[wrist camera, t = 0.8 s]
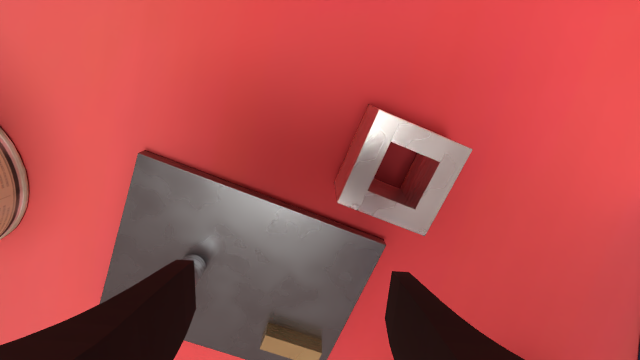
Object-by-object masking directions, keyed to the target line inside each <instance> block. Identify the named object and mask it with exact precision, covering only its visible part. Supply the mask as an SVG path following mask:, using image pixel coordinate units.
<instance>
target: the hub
mask: <svg viewBox="0 0 640 360" xmlns="http://www.w3.org/2000/svg"><path fill="white" fill-rule="evenodd" d="M390 142H393V143H395V144H398V145H400V146H402V147H405V148H407V149H410V150H412V151H414V152H417V155H416V157H415V159H414V161H413V163H412V165H411V167H410V169H409V171H408V173H407V175H406V177H405V179H404V181H403V183H402V185H401V187H400V188H397V187H395V186H392V185H389V184H387V183H384V182H382V181H379V180H377V179H374V176H375V174H376V172H377V170H378V168H379V166H380V163H381V161H382V159H383V157H384V155H385V153H386V151H387V149H388V147H389V145H390ZM472 150H473V149H471V148H468V147H466V146H464V145H462V144H460V143H458V142H456V141H453V140H451V139H449V138H447V137H445V136H442V135H440V134H438V133H435V132H433V131H431V130H428V129H426V128H423V127H421V126H419V125H416V124H414V123H412V122H409V121H407V120H405V119H402V118H400V117H398V116H395V115H393V114H391V113H388V112H386V111H384V110H381V109H379V108H376V107H374V106H372V105H369V104H368V107H367V109H366V111H365V113H364V116H363V118H362V120H361V122H360V125H359V127H358V129H357V131H356V134H355V136H354V138H353V141H352V143H351V145H350V147H349V150H348V152H347V154H346V156H345V159H344V161H343V163H342V165H341V168H340V170H339V172H338V175H337V177H336V179H335V181H334V186H335V192H336V198H337V203H339V204H342V205H344V206H347V207H350V208H352V209H355V210H358V211H360V212H363V213H365V214H368V215H371V216H373V217H376V218H379V219H381V220H384V221H386V222H389V223H392V224H394V225H397V226H400V227H402V228H405V229H407V230H410V231H413V232H415V233H418V234H420V235H423V236H425V235H426V233H427V231H428V230H429V228H430V226H431V224H432V222H433V220H434V219H435V217H436V215H437V213H438V211H439V210H440V208H441V206H442V204H443V202H444V200H445V199H446V197H447V195H448V193H449V191H450V190H451V188H452V186H453V184H454V182H455V181H456V179H457V177H458V175H459V173H460V171H461V170H462V168H463V166H464V164H465V162H466V161H467V159H468V157H469V155H470V153H471V151H472Z"/></svg>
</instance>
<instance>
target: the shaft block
mask: <svg viewBox="0 0 640 360" xmlns="http://www.w3.org/2000/svg"><path fill="white" fill-rule="evenodd" d="M385 246H386V244H385V241H384V239H381V238H378V237H376V236H373V235H370V234H368V233H365V232H362V231H360V230H357V229H354V228H352V227H349V226H346V225H344V224H341V223H338V222H336V221H333V220H330V219H328V218H325V217H322V216H320V215H317V214H314V213H311V212H309V211H306V210H303V209H301V208H298V207H295V206H293V205H290V204H287V203H285V202H282V201H279V200H277V199H274V198H271V197H269V196H266V195H263V194H261V193H258V192H255V191H253V190H250V189H247V188H245V187H242V186H239V185H237V184H234V183H231V182H229V181H226V180H223V179H220V178H218V177H215V176H212V175H210V174H207V173H204V172H202V171H199V170H196V169H194V168H191V167H188V166H186V165H183V164H180V163H178V162H175V161H172V160H170V159H167V158H164V157H162V156H159V155H156V154H154V153H151V152H148V151H146V150H145V151H142V152H140V153H138V156H137V160H136V164H135V168H134V172H133V176H132V180H131V184H130V187H129V191H128V195H127V199H126V203H125V207H124V211H123V215H122V219H121V223H120V227H119V231H118V234H117V238H116V242H115V246H114V250H113V254H112V258H111V262H110V266H109V270H108V274H107V277H106V281H105V285H104V289H103V293H102V297H101V301H100V304H101V303H103V302H105V301H107V300H108V299H110V298H112V297H114V296H116V295H117V294H119V293H121V292H123V291H125V290H126V289H128V288H130V287H132V286H133V285H135V284H137V283H138V282H140V281H142V280H143V279H145V278H147V277H148V276H150V275H151V274H153V273H155V272H156V271H158V270H160V269H161V268H163V267H164V266H166V265H168V264H169V263H171V262H173V261H175V260H177V259H178V260H194V271H195V293H196V310H195V313H194V316H193V319H192V322H191V324H190V327H189V329H188V332H187V334H186V336H185V338H184V340H185V341H188V342H191V343H194V344H198V345H201V346H204V347H207V348H211V349H214V350H217V351H220V352H224V353H227V354H230V355H233V356H237V357H240V358H243V359H246V360H327V358H328V356H329V354H330V353H331V351H332V349H333V347H334V345H335V343H336V341H337V339H338V337H339V335H340V333H341V331H342V329H343V327H344V326H345V324H346V322H347V320H348V318H349V316H350V314H351V312H352V310H353V308H354V306H355V304H356V302H357V300H358V299H359V297H360V295H361V293H362V291H363V289H364V287H365V285H366V283H367V281H368V279H369V277H370V275H371V273H372V272H373V270H374V268H375V266H376V264H377V262H378V260H379V258H380V256H381V254H382V252H383V250H384V248H385Z"/></svg>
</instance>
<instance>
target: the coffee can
mask: <svg viewBox="0 0 640 360" xmlns="http://www.w3.org/2000/svg"><path fill="white" fill-rule="evenodd" d="M28 196H29V189H28V180H27V174H26V170H25V167H24V165H23V163H22V161H21V158H20V155H19V154H18V152H17V150H16V148H15V146H14V144H13V143H12V141H11V140H10V139H9V138H8V136H7V135H6V134H5V132H4V131H3V130H2V129H1V128H0V239H2V238H3V237H5V236H6V235H8V234H9V233H10V232H12V231H13V230H14V229H15V228H16V227H17V226H18V224H19V223H20V221H21V219H22V217H23V215H24V213H25V211H26V208H27V203H28Z"/></svg>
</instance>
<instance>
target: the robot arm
mask: <svg viewBox="0 0 640 360" xmlns="http://www.w3.org/2000/svg"><path fill="white" fill-rule="evenodd" d="M195 310H196V293H195V271H194V260H178V259H177V260H175V261H173V262H171V263H169V264H168V265H166V266H164V267H163V268H161V269H160V270H158V271H156V272H155V273H153V274H151V275H150V276H148V277H147V278H145V279H143V280H142V281H140V282H138V283H137V284H135V285H133V286H132V287H130V288H128V289H126V290H125V291H123V292H121V293H119V294H117V295H116V296H114V297H112V298H110V299H108V300H107V301H105V302H103V303H101V304H99V305H97V306H95V307H93V308H91V309H89V310H87V311H85V312H83V313H81V314H79V315H77V316H74V317H72V318H70V319H68V320H66V321H63V322H61V323H59V324H56V325H54V326H51V327H48V328H46V329H43V330H41V331H38V332H36V333H33V334H31V335H28V336H26V337H23V338H20V339H18V340H15V341H12V342H9V343H6V344H3V345H0V360H173V359H174V358H175V356H176V354H177V352H178V350H179V348H180V346H181V344H182V342H183V340H184V338H185V336H186V334H187V332H188V329H189V327H190V324H191V322H192V319H193V316H194V313H195ZM385 321H386V327H387V333H388V338H389V344H390V347H391V351H392V354H393V357H394V360H524V359H523V358H521V357H519V356H517V355H516V354H514V353H512V352H510V351H509V350H507V349H505V348H504V347H502V346H501V345H499V344H497V343H496V342H494V341H493V340H491V339H490V338H488V337H487V336H485V335H484V334H482V333H481V332H479V331H478V330H477V329H475V328H474V327H473V326H471V325H470V324H469V323H467V322H466V321H465V320H463V319H462V318H461V317H460V316H458V315H457V314H456V313H455V312H453V311H452V310H451V309H450V308H448V307H447V306H446V305H445V304H444V303H443V302H441V301H440V300H439V299H438V298H437V297H436V296H435V295H434V294H432V293H431V292H430V291H429V290H428V289H427V288H426V287H425V286H424V285H423V284H421V283H420V282H419V281H418V280H417V279H416V278H415V277H414V276H413V275H411V274H410V273H409V272H395V271H392V275H391V282H390V288H389V295H388V301H387V308H386V315H385Z"/></svg>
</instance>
